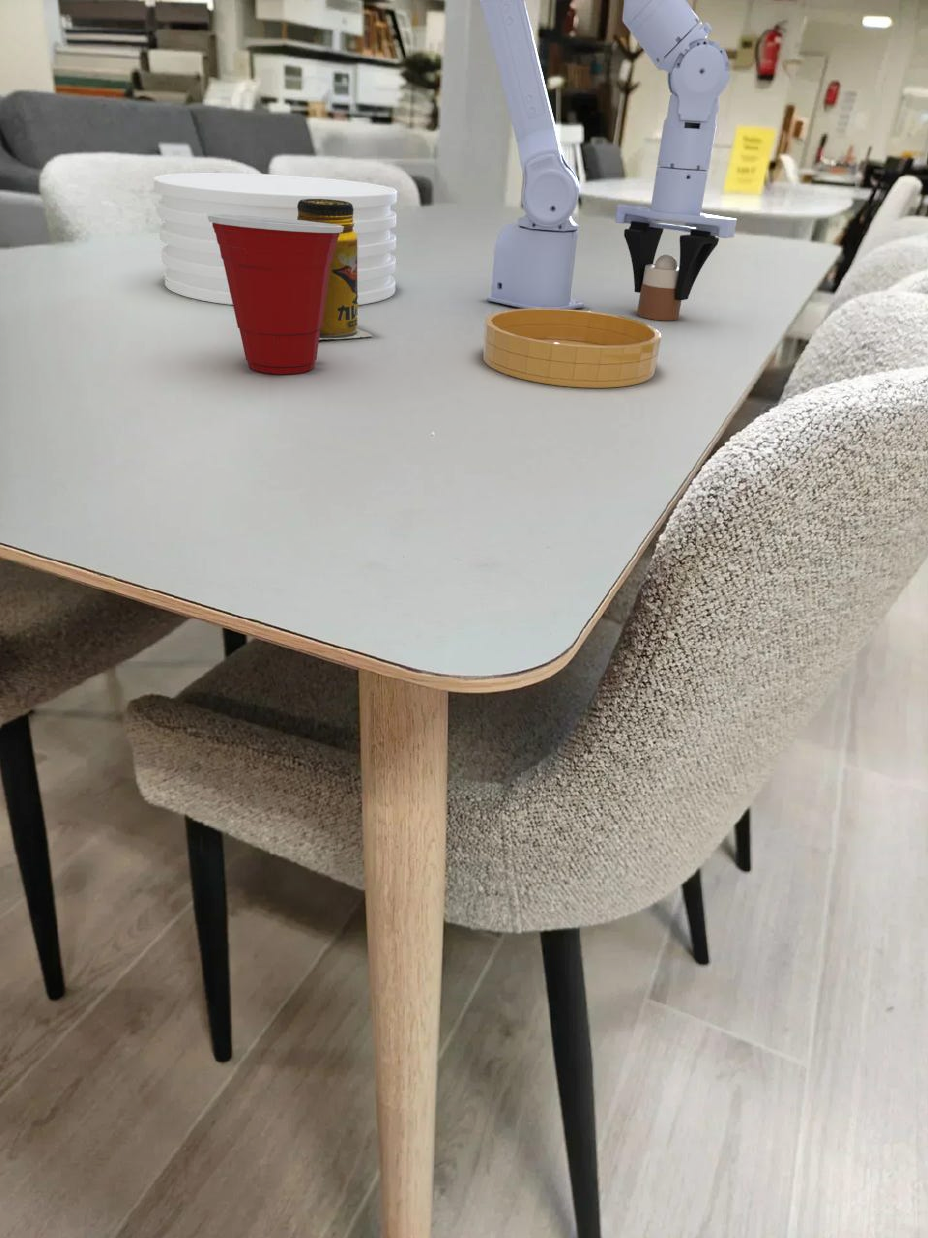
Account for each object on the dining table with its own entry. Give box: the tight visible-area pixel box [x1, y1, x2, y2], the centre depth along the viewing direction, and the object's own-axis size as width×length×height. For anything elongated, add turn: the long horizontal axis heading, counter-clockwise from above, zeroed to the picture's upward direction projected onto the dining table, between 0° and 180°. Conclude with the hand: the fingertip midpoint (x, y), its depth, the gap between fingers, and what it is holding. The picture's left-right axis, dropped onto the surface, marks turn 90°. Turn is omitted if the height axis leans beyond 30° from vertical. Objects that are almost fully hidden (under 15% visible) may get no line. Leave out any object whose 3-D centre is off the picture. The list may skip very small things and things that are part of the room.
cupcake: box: [636, 254, 682, 322], centre depth 103 cm, size 5×5×7 cm
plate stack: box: [153, 172, 398, 306], centre depth 104 cm, size 28×28×12 cm
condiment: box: [297, 199, 373, 341], centre depth 84 cm, size 7×8×12 cm
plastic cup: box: [207, 214, 344, 375], centre depth 72 cm, size 11×11×12 cm
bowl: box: [482, 308, 662, 389], centre depth 81 cm, size 16×16×4 cm
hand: (661, 295), depth 103 cm, fingers closed on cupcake, 5 cm apart
